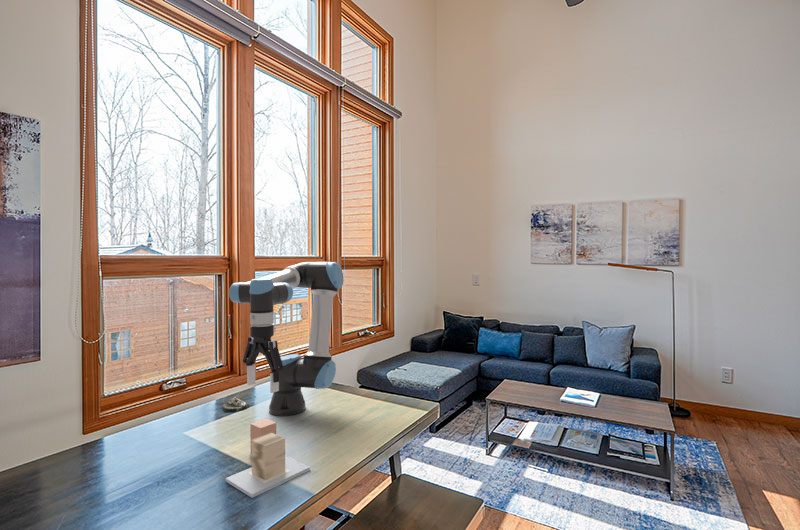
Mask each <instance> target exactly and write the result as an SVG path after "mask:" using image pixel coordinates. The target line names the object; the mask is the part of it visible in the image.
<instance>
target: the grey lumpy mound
mask: <svg viewBox="0 0 800 530" xmlns="http://www.w3.org/2000/svg"><path fill="white" fill-rule="evenodd" d="M249 408H250V405H249V404H248V403H247V402H245V401H244V400H241V399H240V398H238V397H236V396H234V398H231V399H229V400H228V401H227V402H225V403H224V404H222V409H223V411H224V412H226V413H237V412H241V411H244V410H248V409H249Z"/></svg>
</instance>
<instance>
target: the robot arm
mask: <svg viewBox="0 0 800 530" xmlns="http://www.w3.org/2000/svg"><path fill="white" fill-rule="evenodd" d="M343 285H344V273H343V269H342V267H341V265H340V264H339V263H337V262H336V261H305V262H304V261H303V262H299V263H297V264H292V265H289V266H287V267H284V268H283V269H282V270H281V271H278V272H276V273H273V274H269V275H266V276H263V277H259V278H253V279H251V280H249V281H246V282H241V281H238V282H233V283H232V284H231V285H230V287H229V289H228V296H229V299H230V301H231V302H232V303H235V304H241V305H242V304H250V306H249V308H250V309H249V313H250V315H249V319H250V320H249V321H250V323H249V324H250V327H249V330H250V331H249V335H250V337H247V345H246V347H245V351H244V355H243V358H242V363H243V364H245V365H246V378H247V379H246V381H247V386H252V385H255V384H256V360H257V358H258V356H259V354H262V355H263V356H264V357H265V360H266V361H267V364H268V366H269V368H270V370H271V371H270V372H269V373H270V375H269V376H270V377H269V379H270V381H269V385H270V387H269V388H270V390H269V392H270V393H271V394H272V396H271V399H270V403H269V406H268V410H269V414H271V415H272V416H273V415H274V416H277V417H278V416H279V417H280V416H281V417H284V416H285V417H286V416H292V415H293V416H294V415H298V414H300V413H302V412H304V411H306V401H305V398H304V395H303V392H302V388H307V389H315V390H319V389H321V390H325V389H327V388H329V387H330V386H331V385H332V383H333V382H334V379H335V375H336V373H337V365H336V362H335V361H333V360H332V355H331V354H330V351H329V350H330V339H331V329H332V319H333V318H332V317H333V306H334V297H335V296H336V295H337V294H338V290H339V289H341V288H342V287H343ZM295 288H304V289H305V288H307V289H310V292H311V294H312V295H313V300H312V309H311V319H310V329H309V331H310V332H309V339H308V350H307V352H306V353H305V354H304V355H303V358H302V356H301V354H297V353H295V354H287V355H282V356H281V354H280V351H279V346H278V341H277V340H273V341H272V339H271V338H272V337H274V334H275V329H274V328H275V326H274V325H273V324H274V323H275V318H274V317H275V316H274V315H275V314H274V306H275V305H276V306H277V305H283V304H285V303H288V302H289V301H290V300H292V298H293V296H294V291H293V289H295Z"/></svg>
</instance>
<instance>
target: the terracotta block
mask: <svg viewBox="0 0 800 530" xmlns="http://www.w3.org/2000/svg"><path fill="white" fill-rule="evenodd" d="M249 424H250V434H249V435H250V441H251V440H253V439H255V438H258V437H261V436H264V435H266V434H269V433H274V434H276V435H277V422H275V421H273V420H270V419H268V418H263V419H261V420H258V421H255V422H252V423H249ZM250 454H251V455H252V453H251V452H250Z"/></svg>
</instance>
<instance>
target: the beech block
mask: <svg viewBox="0 0 800 530" xmlns="http://www.w3.org/2000/svg"><path fill="white" fill-rule="evenodd" d="M251 453H252V454H251ZM250 454H251V467H252V473H253V474H255V475H256V476H258V477H260V478H262V479H264V480H267V479H270V478H272V477H274V476H276V475H278V474H280V473H283V472H285V455H286V438H285V437H283V436H281V435H278V434H277V433H276V434H274V433H269V434H266V435H264V436H261V437H258V438H255V439H253V440H251V439H250Z"/></svg>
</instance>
